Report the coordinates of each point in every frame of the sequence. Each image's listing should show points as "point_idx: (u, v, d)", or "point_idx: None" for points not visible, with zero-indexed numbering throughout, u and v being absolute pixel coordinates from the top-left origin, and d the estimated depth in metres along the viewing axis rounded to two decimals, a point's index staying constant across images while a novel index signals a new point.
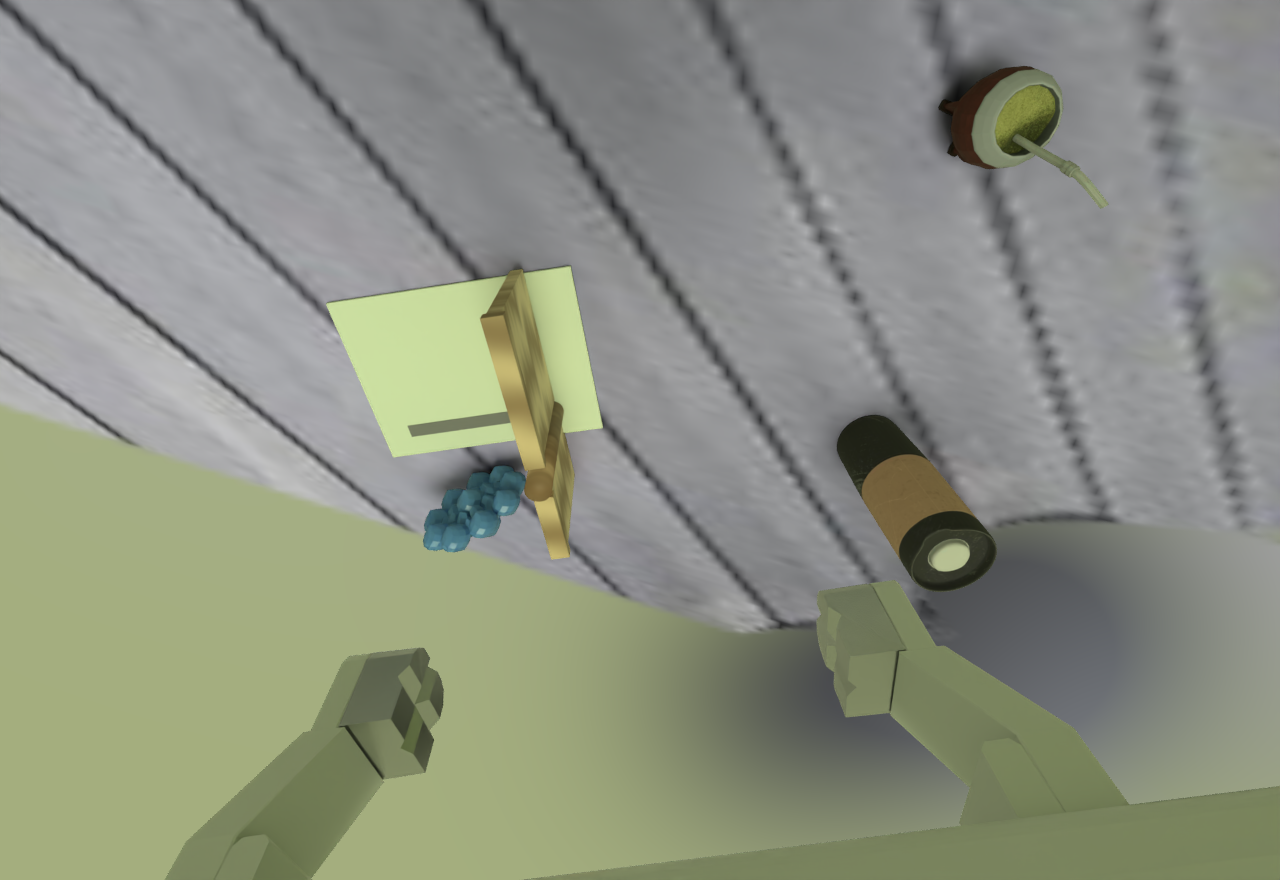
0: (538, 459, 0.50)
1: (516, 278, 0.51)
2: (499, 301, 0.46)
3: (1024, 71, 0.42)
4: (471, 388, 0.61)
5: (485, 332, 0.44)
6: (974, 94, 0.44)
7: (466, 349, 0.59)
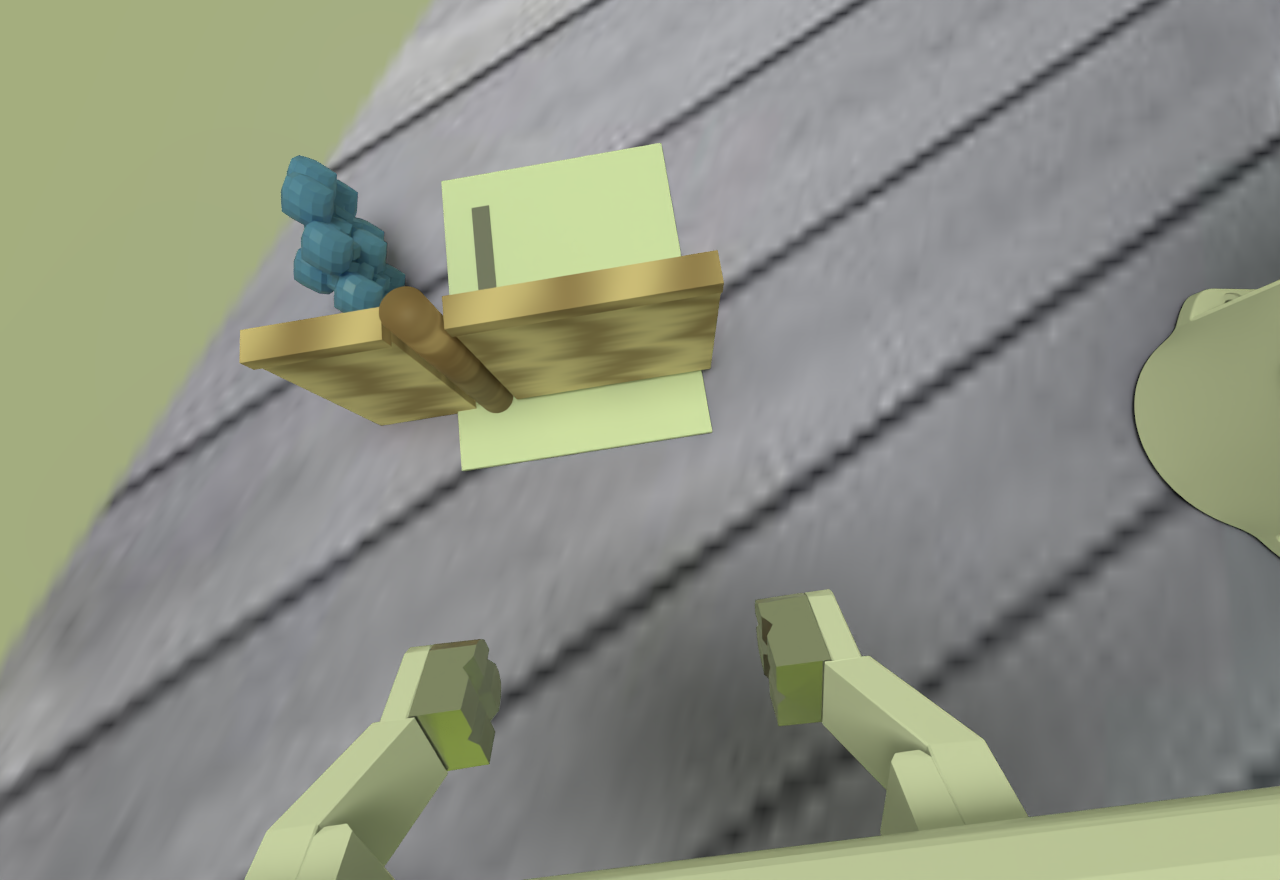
0: (462, 319, 0.29)
1: None
2: None
3: None
4: None
5: (694, 256, 0.28)
6: None
7: None
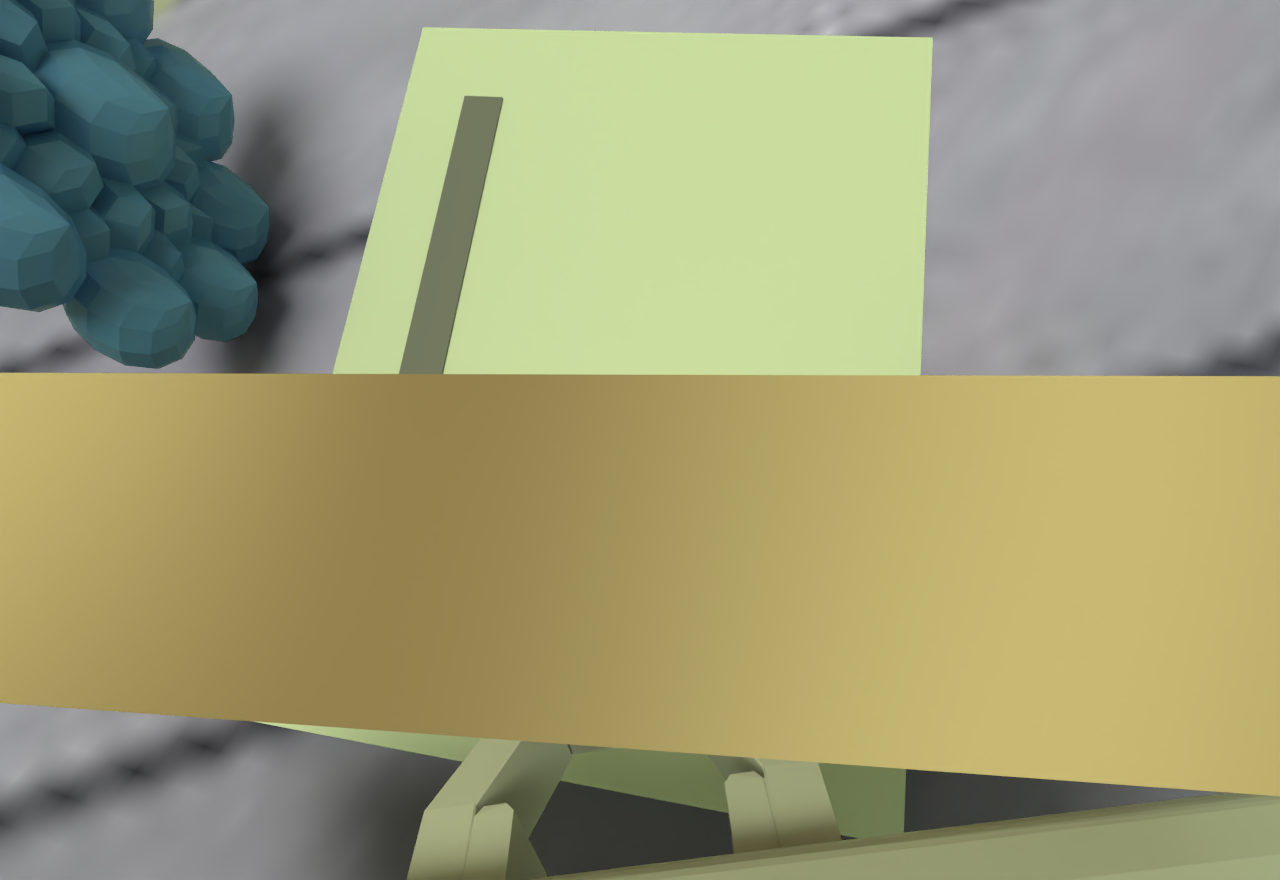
0: None
1: None
2: None
3: None
4: (555, 320, 0.18)
5: None
6: None
7: (689, 357, 0.17)
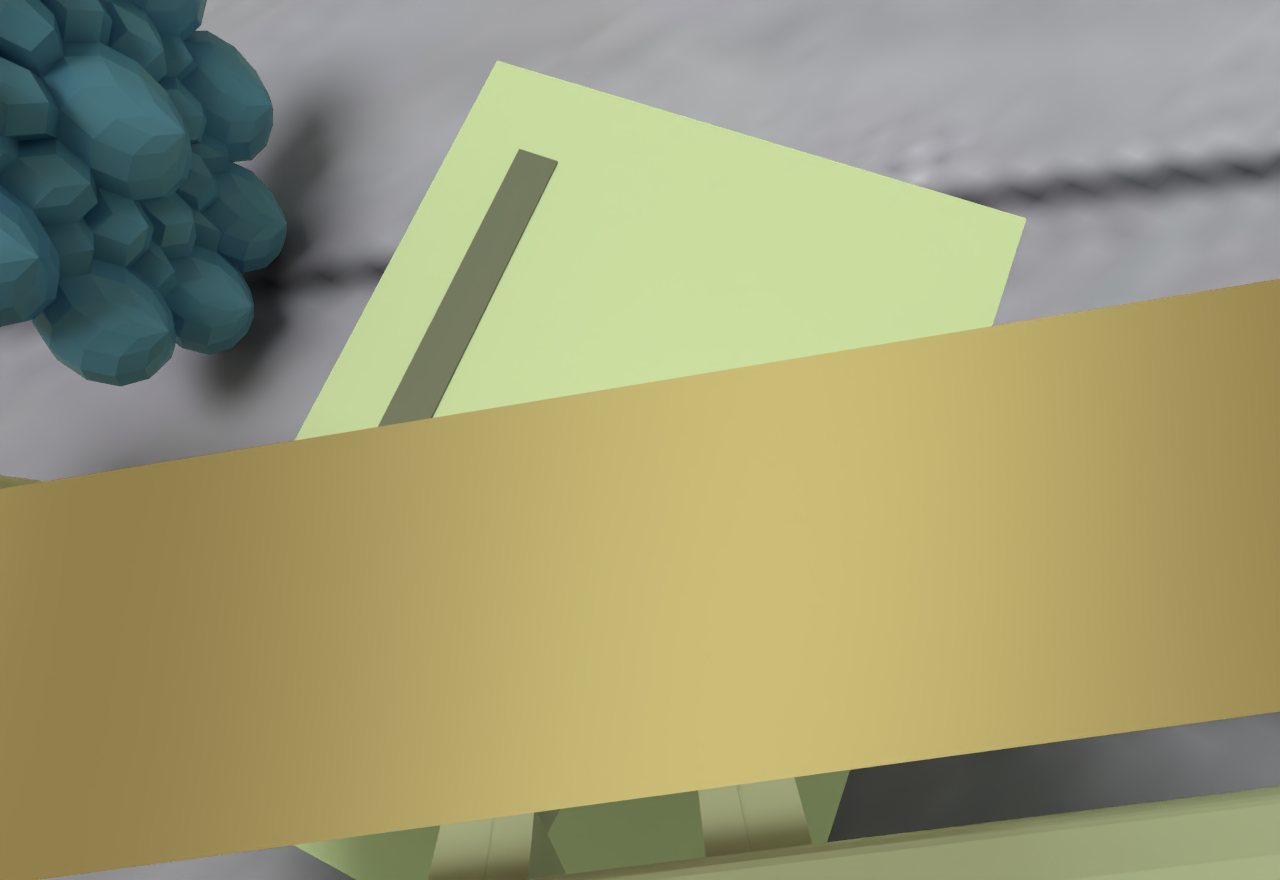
0: None
1: None
2: None
3: None
4: None
5: None
6: None
7: None
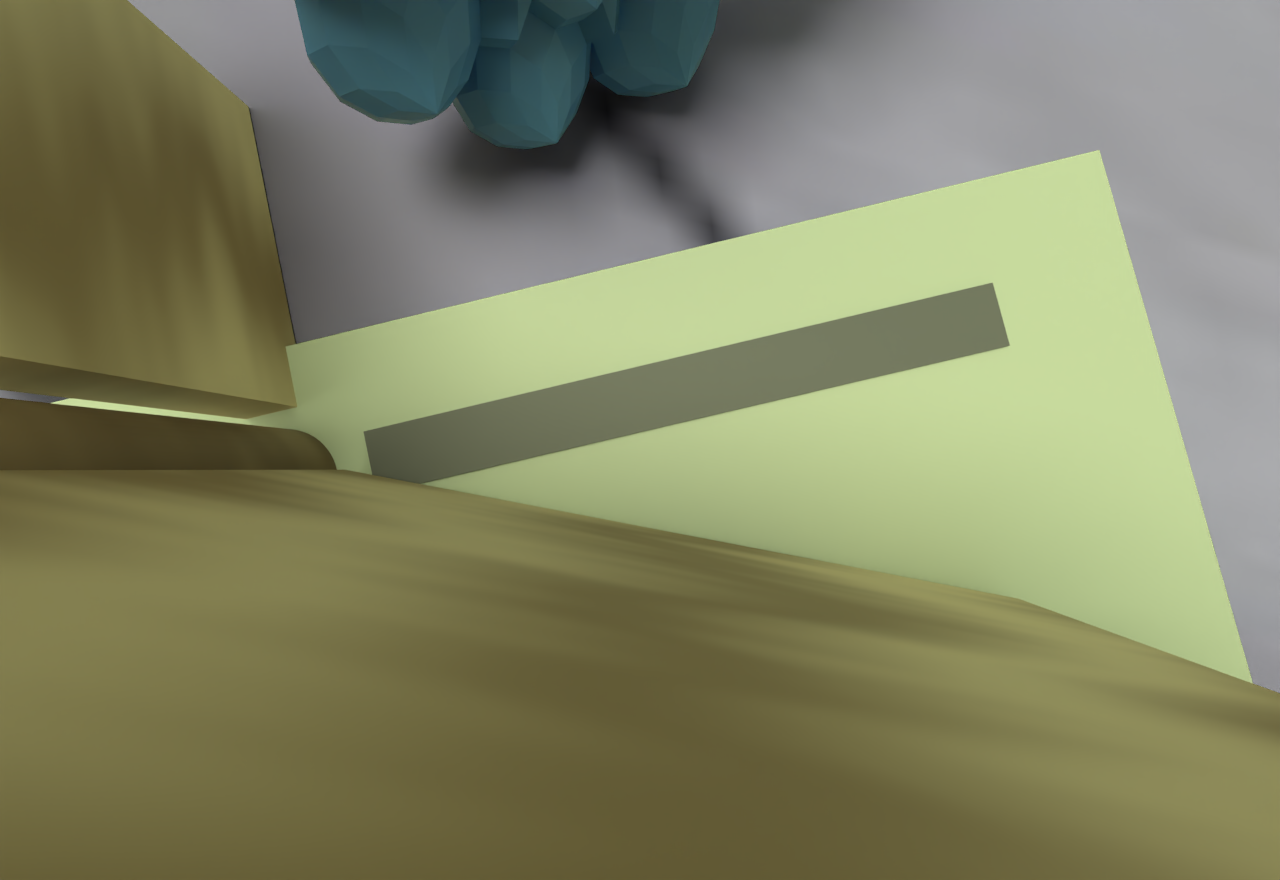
0: None
1: None
2: None
3: None
4: None
5: None
6: None
7: None
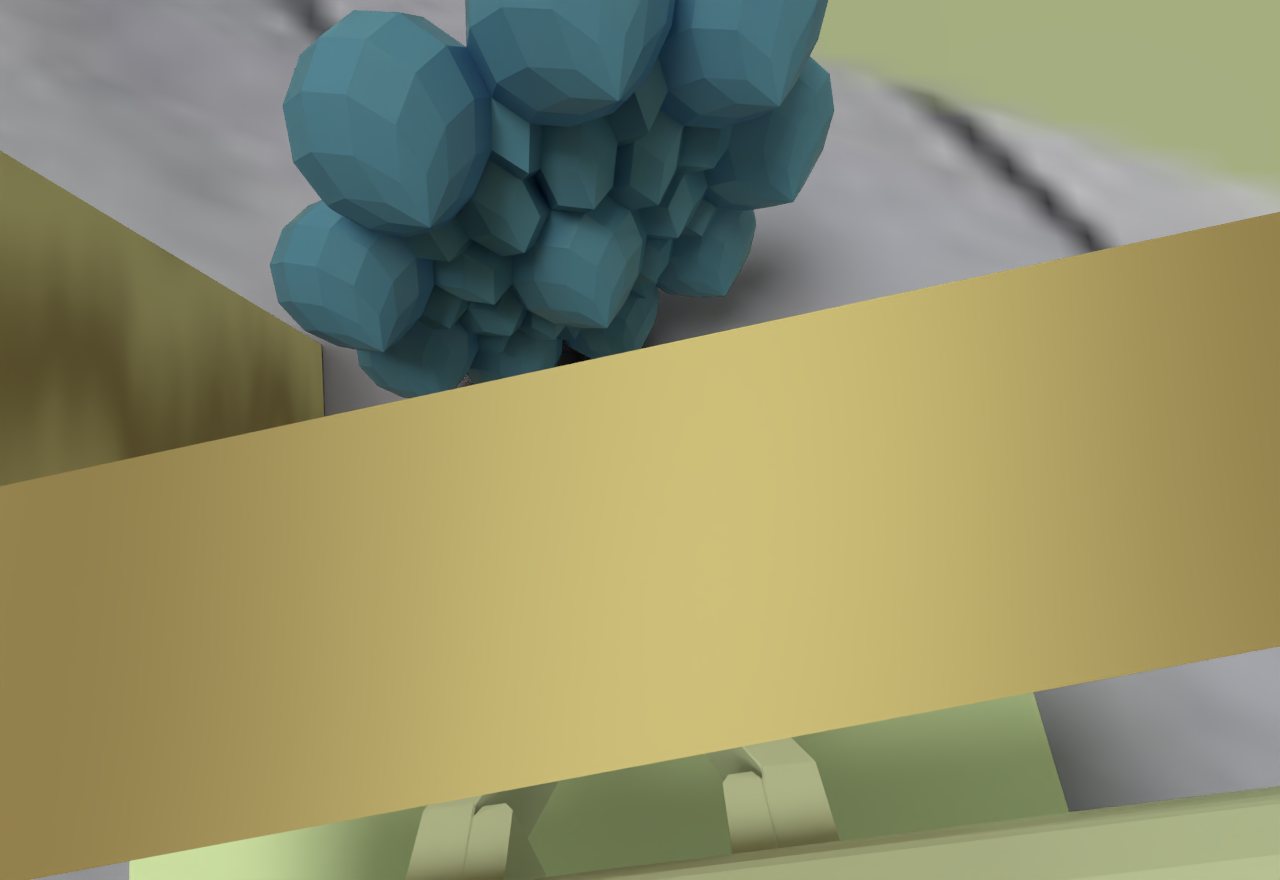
0: None
1: None
2: None
3: None
4: None
5: None
6: None
7: None
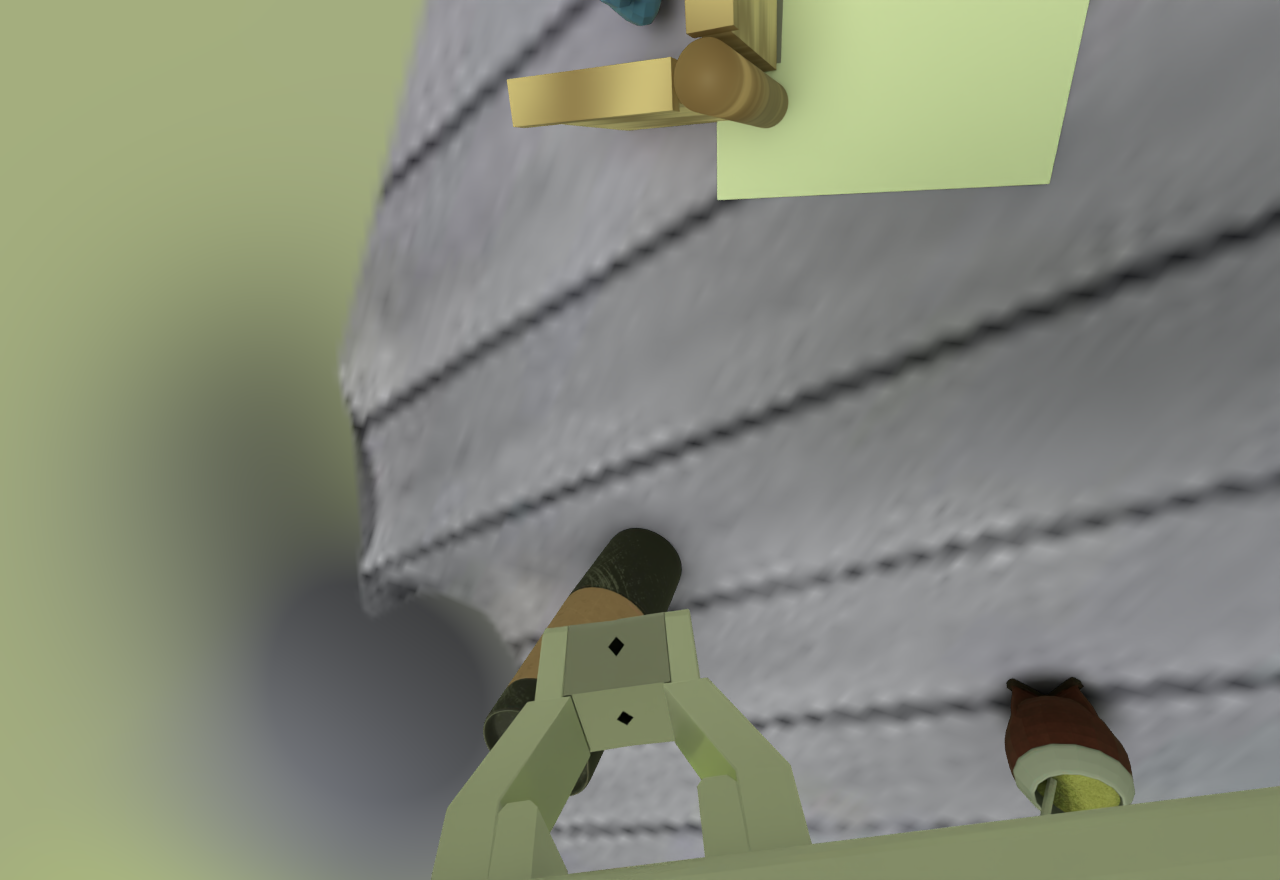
0: None
1: None
2: None
3: None
4: None
5: None
6: (1116, 744, 0.38)
7: None
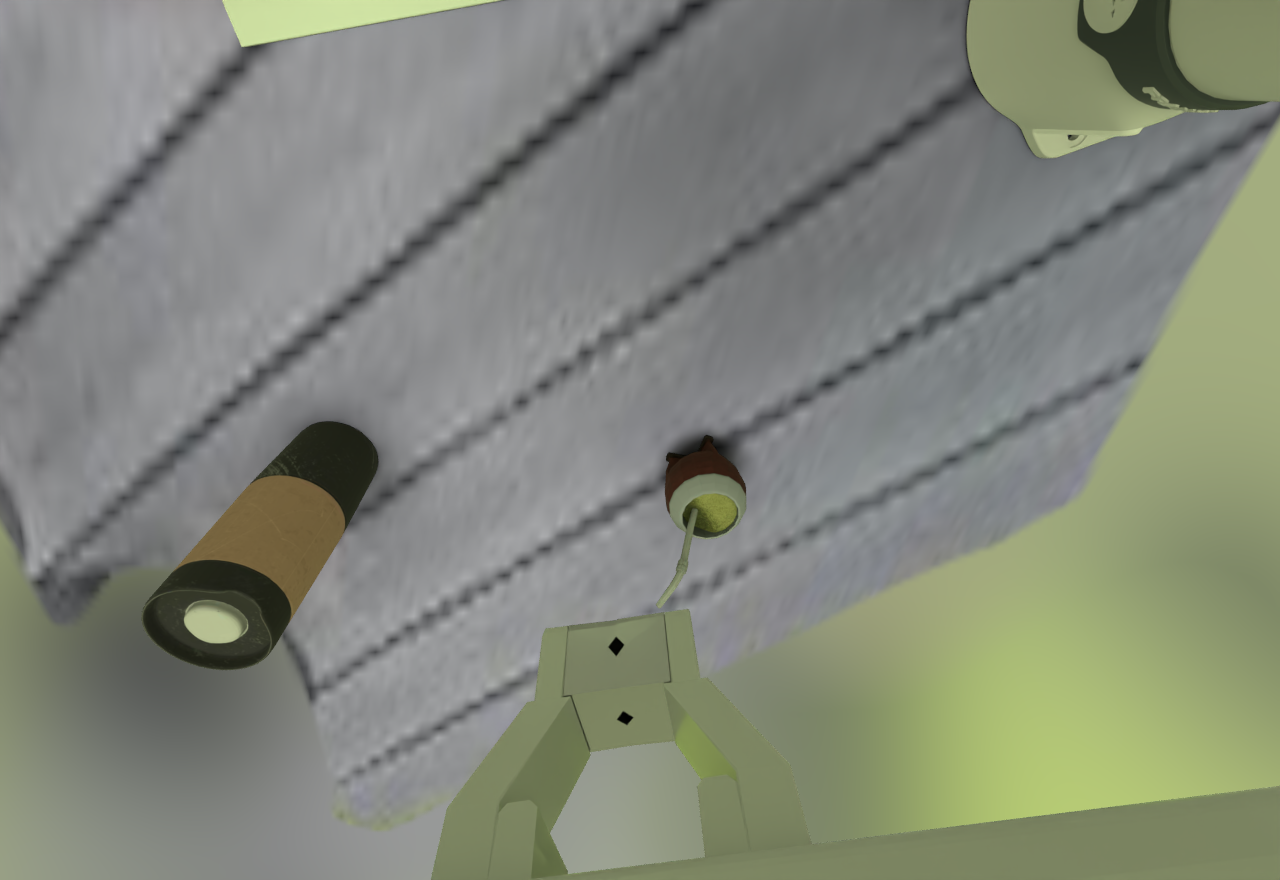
0: None
1: None
2: None
3: (745, 500, 0.49)
4: None
5: None
6: (727, 466, 0.49)
7: None
